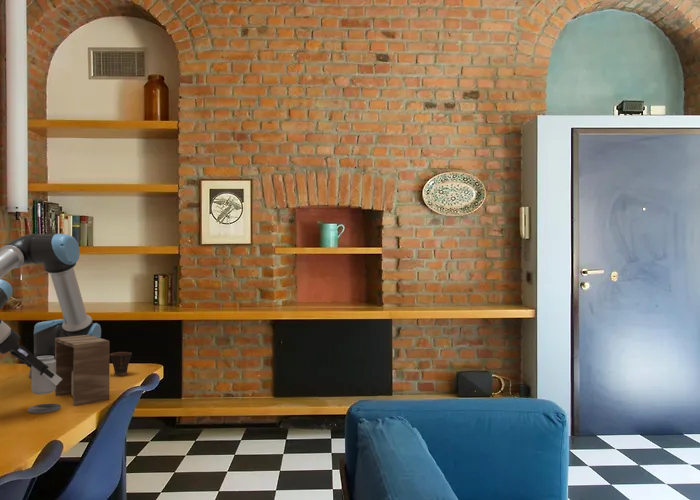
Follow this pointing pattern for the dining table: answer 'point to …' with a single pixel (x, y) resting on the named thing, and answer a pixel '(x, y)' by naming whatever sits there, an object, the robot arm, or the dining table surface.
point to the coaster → (44, 408)
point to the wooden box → (83, 368)
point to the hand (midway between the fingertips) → (54, 380)
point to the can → (43, 377)
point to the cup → (120, 362)
